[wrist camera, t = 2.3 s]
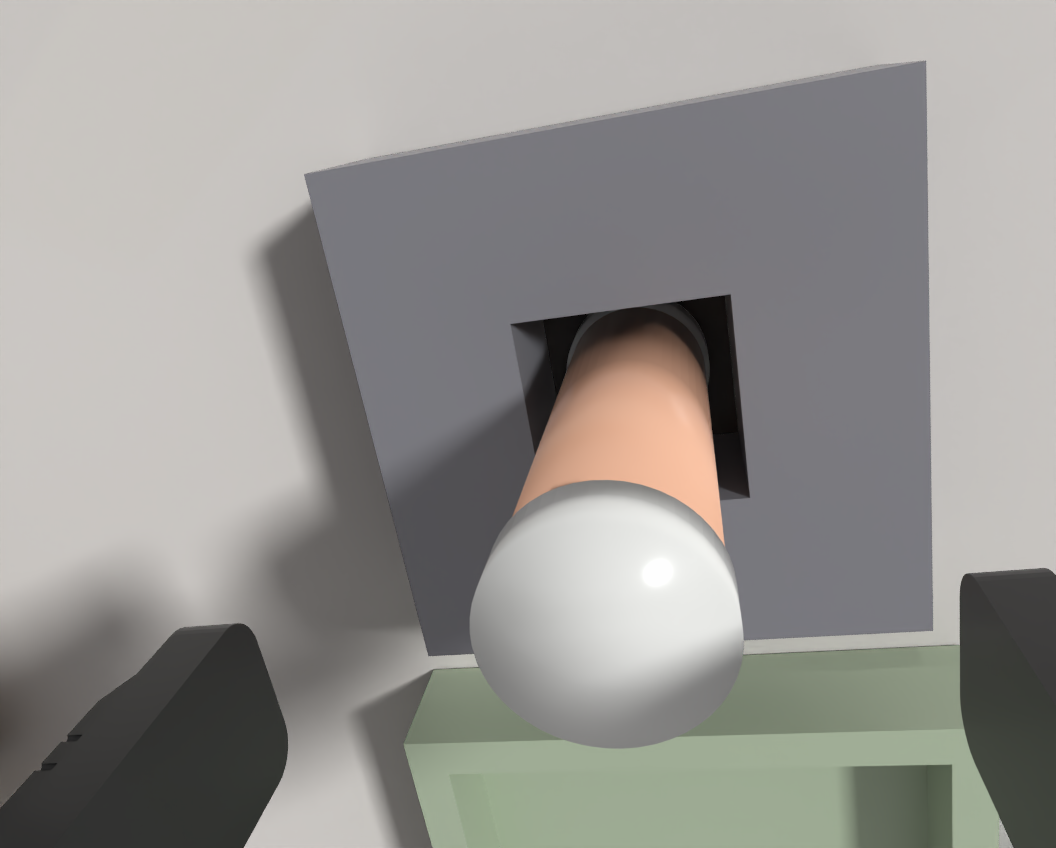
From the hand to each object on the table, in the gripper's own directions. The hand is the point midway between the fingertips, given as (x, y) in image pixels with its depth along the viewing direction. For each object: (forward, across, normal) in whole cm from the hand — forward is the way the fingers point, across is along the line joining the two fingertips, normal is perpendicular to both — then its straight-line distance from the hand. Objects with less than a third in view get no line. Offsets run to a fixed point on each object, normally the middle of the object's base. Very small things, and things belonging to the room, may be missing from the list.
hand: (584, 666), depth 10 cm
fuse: (+11, 0, 0) cm, 11 cm away
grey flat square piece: (+11, 0, 0) cm, 11 cm away
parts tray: (+11, 0, +16) cm, 19 cm away
